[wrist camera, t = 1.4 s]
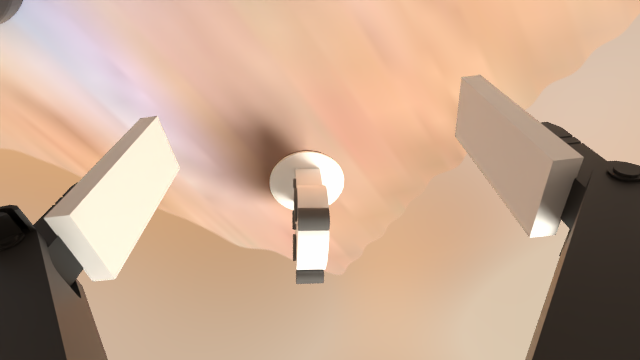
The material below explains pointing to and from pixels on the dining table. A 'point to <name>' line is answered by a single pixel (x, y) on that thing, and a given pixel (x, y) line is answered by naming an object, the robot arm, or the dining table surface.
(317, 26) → the dining table surface
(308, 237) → the white piece
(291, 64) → the dining table surface
